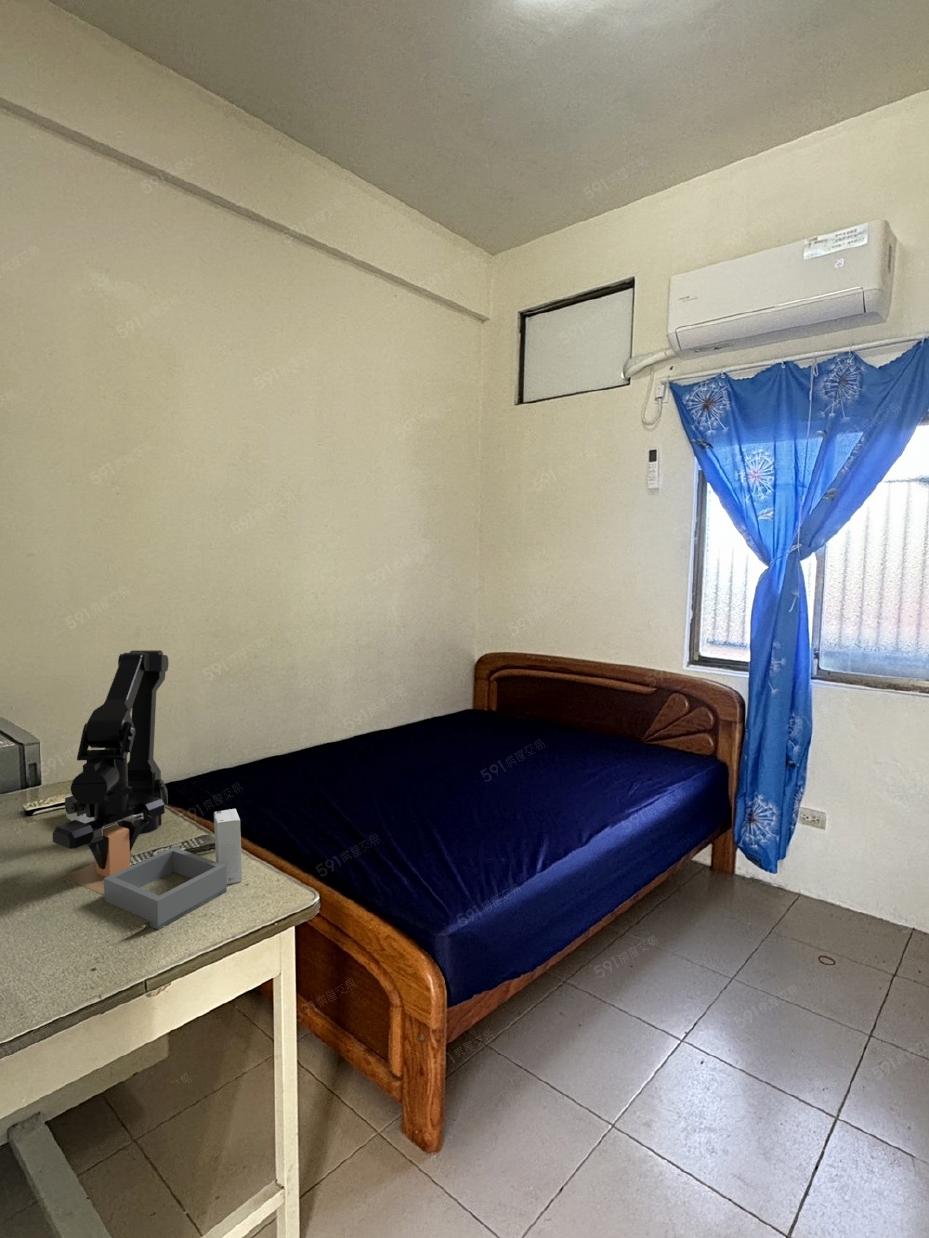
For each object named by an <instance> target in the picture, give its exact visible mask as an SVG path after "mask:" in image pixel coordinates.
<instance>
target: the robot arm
mask: <svg viewBox="0 0 929 1238" xmlns="http://www.w3.org/2000/svg"><path fill="white" fill-rule="evenodd" d="M117 659H118V660H117V669H116V672H115V674H114V677H113V679H112V682H111V685H110V688H109V690H108V693H107V695H106V698H105V700H104V702H103V703H102V704H101V705H100V706H99V707H96V709H94V710H93V711H92V712H91V714H90V715H89V718H88V720H87V722H86V723H85V724H84V726H83V729H82V732H81V738H80V743H79V748H78V752H77V757H76V760H77V761H85V763H84V764H83V765H82V771H81V772H80V773H79V774H78V775H76V776H75V777H74V778H73V780H72V783H71V785H70V791H71V792H70V793H71V794H72V795H73V796H72V795H69V796H70V797H68V796H65V798H64V808H65V809H64V810H65V814H66V813H67V814H73V813H76V814H77V816H80V815H82V814H86V817H89V818H91V817H94V820H93V821H90V822H88V823H83V822H80V821H77V820H73V821H70V820H69V821H68V822H64V823H62V824H59V825H57V826H55V828H54V829H53V831H52V842H53V843H54V844H56V845H58V846H61V847H65V848H67V849H69V850H73V849H77V848H80V847H83V846H84V845H87V847H88V849H89V850H90V852H91V853H92V856H93V858H94V859H95V860H94V861H96V862H97V864H98V866H99V868H100V869H105V866H106V861H107V848H108V837H106V836H103V829H105V828H107V827H110V826H112V825H115V824H116V825H119V826H122V827H125V828H127V829H129V844H130V852H131V851H132V849H133V847H134V845H135V843H136V842H137V839H138V837H139V836H140V835H143V834H150V833H152V832H154V831H156V830H158V829H159V827H161V826H162V822H163V821H162V815H164V814H165V813H166V806H167V805H168V803H169V800H168V799H169V795H168V788H167V786H166V784H165V782H164V780H163V779H162V770H161V769H160V767H159V766H158V764H157V763H156V761H155V759H154V749H155V734H156V733H155V730H156V729H155V728H156V711H157V709H156V706H157V691H158V690H159V688H160V686H162V684H163V683H164V681H165V680H166V672H168V670H169V664H170V663H169V656H168V655H166V654H164V653H163V651H162V650H152V649H151V650H150V649H149V650H143V649H142V650H139V649H137V650H135V649H134V650H130V651H129V652H123V653H120V654H119V655H118V658H117ZM89 748H91V749H89ZM128 755H129V759H128ZM128 760H129V761H128ZM96 862H95V863H96Z"/></svg>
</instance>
